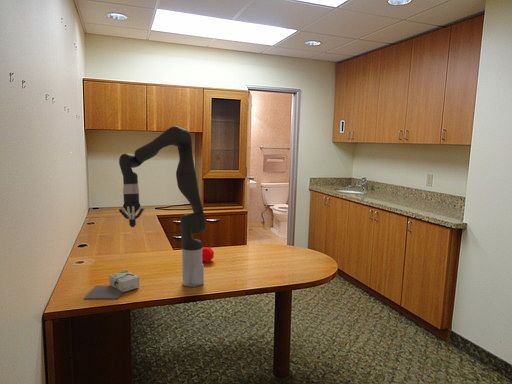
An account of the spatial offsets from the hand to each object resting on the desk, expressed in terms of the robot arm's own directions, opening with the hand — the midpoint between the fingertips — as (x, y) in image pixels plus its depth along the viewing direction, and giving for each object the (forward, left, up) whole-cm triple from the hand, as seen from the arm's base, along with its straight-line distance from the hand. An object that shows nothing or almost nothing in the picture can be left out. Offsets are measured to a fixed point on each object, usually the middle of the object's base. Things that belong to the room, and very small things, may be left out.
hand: (132, 226), depth 188 cm
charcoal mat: (-19, +24, -22) cm, 38 cm away
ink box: (-13, +16, -19) cm, 28 cm away
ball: (-17, -34, -23) cm, 44 cm away
